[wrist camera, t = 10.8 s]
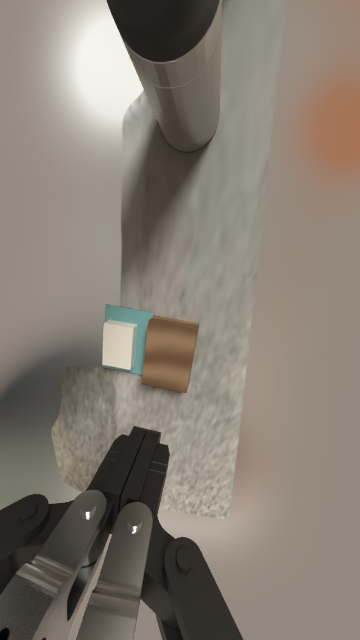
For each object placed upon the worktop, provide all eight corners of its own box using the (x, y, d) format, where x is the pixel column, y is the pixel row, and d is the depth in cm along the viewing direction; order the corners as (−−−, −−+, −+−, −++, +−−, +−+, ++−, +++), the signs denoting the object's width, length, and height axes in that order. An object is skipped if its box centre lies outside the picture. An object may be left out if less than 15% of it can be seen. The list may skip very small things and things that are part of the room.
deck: (154, 315, 44) (148, 320, 40) (199, 323, 43) (197, 329, 39) (147, 373, 48) (141, 383, 44) (188, 382, 47) (186, 393, 43)
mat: (106, 304, 45) (105, 304, 45) (154, 312, 44) (153, 313, 44) (103, 366, 49) (102, 366, 49) (147, 375, 48) (146, 376, 48)
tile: (133, 328, 43) (137, 324, 45) (103, 322, 43) (109, 319, 46) (130, 370, 45) (134, 364, 47) (102, 364, 46) (107, 359, 48)
